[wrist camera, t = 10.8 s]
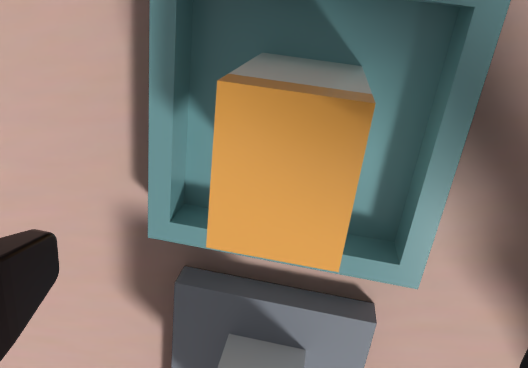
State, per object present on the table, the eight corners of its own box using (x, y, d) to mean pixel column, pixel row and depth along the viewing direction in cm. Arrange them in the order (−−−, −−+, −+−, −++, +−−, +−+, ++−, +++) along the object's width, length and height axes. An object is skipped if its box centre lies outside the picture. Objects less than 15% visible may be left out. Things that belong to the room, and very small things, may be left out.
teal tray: (492, -20, 16) (518, -24, 13) (409, 257, 20) (417, 289, 18) (175, -57, 17) (150, -67, 14) (168, 212, 22) (147, 237, 19)
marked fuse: (362, 65, 17) (375, 103, 10) (338, 181, 19) (338, 272, 12) (262, 52, 17) (217, 80, 11) (250, 167, 19) (206, 247, 13)
